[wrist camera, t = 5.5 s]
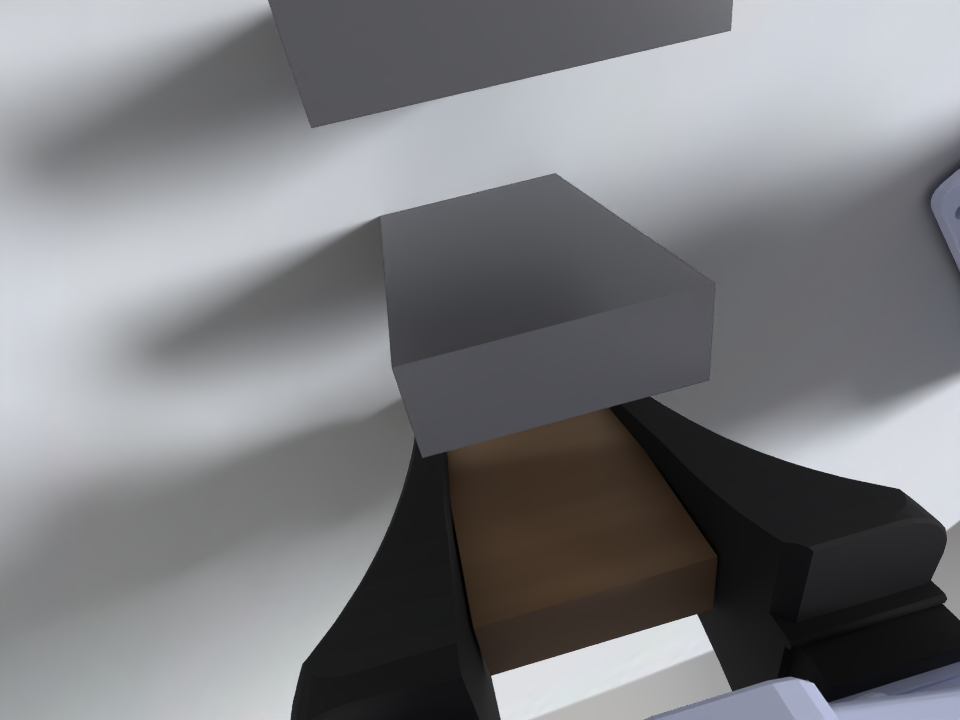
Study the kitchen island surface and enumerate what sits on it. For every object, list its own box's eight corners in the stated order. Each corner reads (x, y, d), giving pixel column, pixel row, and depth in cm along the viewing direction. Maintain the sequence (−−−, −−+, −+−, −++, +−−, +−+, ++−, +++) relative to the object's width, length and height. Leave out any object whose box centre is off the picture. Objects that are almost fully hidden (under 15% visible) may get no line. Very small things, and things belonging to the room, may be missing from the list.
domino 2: (561, 235, 14) (709, 380, 8) (397, 276, 13) (422, 458, 8) (555, 172, 13) (715, 283, 7) (380, 215, 13) (391, 367, 7)
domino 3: (584, 399, 16) (713, 608, 10) (443, 437, 16) (490, 676, 10) (579, 355, 15) (717, 557, 9) (430, 395, 15) (473, 628, 9)
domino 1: (540, 36, 11) (730, 31, 5) (340, 82, 11) (311, 127, 5) (531, -56, 10) (744, -183, 5) (313, -9, 10) (241, -78, 4)
